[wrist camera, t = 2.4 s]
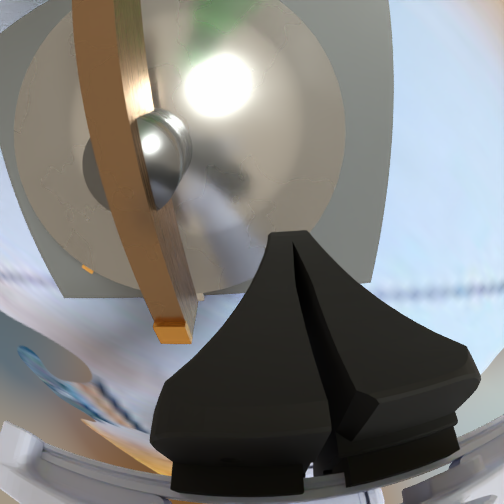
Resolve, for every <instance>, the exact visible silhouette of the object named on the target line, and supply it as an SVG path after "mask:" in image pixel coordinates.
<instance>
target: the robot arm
mask: <svg viewBox="0 0 504 504" xmlns="http://www.w3.org/2000/svg"><path fill="white" fill-rule="evenodd" d="M480 381H481V376H480V373H479V371H478V369H477V367H476V365H475V362H474V360H473V358H472V356H471V354H470V352H469V350H468V349H467V347H466V346H465V345H462V344H460V343H458V342H456V341H453V340H451V339H449V338H447V337H444V336H442V335H440V334H437V333H435V332H433V331H431V330H429V329H428V328H426V327H424V326H422V325H420V324H418V323H416V322H414V321H413V320H411V319H409V318H408V317H406V316H404V315H403V314H401V313H399V312H398V311H396V310H395V309H393V308H392V307H390V306H389V305H387V304H386V303H384V302H383V301H381V300H380V299H378V298H377V297H376V296H374V295H373V294H372V293H371V292H369V291H368V290H367V289H365V288H364V287H363V286H362V285H360V284H359V283H358V282H357V281H356V280H354V279H353V278H352V277H351V276H350V275H349V274H348V273H347V272H346V271H345V270H344V269H343V268H342V267H341V266H340V265H339V264H338V263H337V262H336V261H335V260H334V259H333V258H332V257H331V256H330V255H329V254H328V253H327V252H326V251H325V250H324V249H323V248H322V247H321V245H320V244H319V243H318V242H317V241H316V240H315V239H314V237H313V236H312V235H311V234H310V233H309V232H308V231H307V230H299V231H283V232H271V233H270V234H269V235H268V240H267V245H266V249H265V252H264V255H263V258H262V260H261V263H260V265H259V268H258V270H257V272H256V274H255V276H254V278H253V280H252V282H251V284H250V286H249V288H248V290H247V291H246V293H245V295H244V296H243V298H242V299H241V301H240V303H239V304H238V306H237V307H236V309H235V310H234V311H233V313H232V314H231V315H230V317H229V318H228V319H227V321H226V322H225V323H224V325H223V326H222V327H221V328H220V330H219V331H218V332H217V333H216V334H215V335H214V336H213V337H212V338H211V340H210V341H209V342H208V343H207V344H206V345H205V346H204V347H203V348H202V349H201V350H200V351H199V352H198V353H197V354H196V355H195V356H194V357H193V358H192V359H191V360H190V361H189V362H188V363H187V364H185V365H184V366H183V367H182V368H181V369H180V370H178V371H177V372H176V373H175V374H174V375H173V376H172V377H170V378H169V379H168V380H167V381H166V382H165V383H164V386H163V388H162V391H161V393H160V396H159V399H158V402H157V405H156V407H155V411H154V415H153V421H152V427H151V434H150V443H151V444H152V446H153V447H154V448H155V449H156V450H157V451H159V452H160V453H161V454H163V455H164V456H165V457H167V458H168V459H170V460H171V461H173V467H172V476H165V475H159V474H153V473H147V472H141V471H136V470H131V469H127V468H123V467H119V466H114V465H111V464H107V463H103V462H99V461H96V460H93V459H89V458H86V457H83V456H80V455H77V454H74V453H71V452H68V451H65V450H63V449H60V448H57V447H55V446H52V445H50V444H47V443H45V442H43V441H42V440H41V439H40V438H38V437H37V436H35V435H34V434H32V433H30V432H29V431H27V430H25V429H23V428H21V427H19V426H16V425H14V424H12V423H10V422H8V421H4V423H3V426H2V430H1V433H0V489H1V490H3V491H4V492H5V493H7V494H8V495H9V496H11V497H12V498H13V499H15V500H16V501H18V502H19V503H20V504H172V503H171V501H169V500H168V499H174V500H181V501H189V502H198V503H210V504H385V502H384V497H383V493H382V490H381V487H385V486H388V485H392V484H395V483H398V482H401V481H404V480H407V479H410V478H413V477H416V476H419V475H422V474H424V473H427V472H430V471H432V470H435V469H437V468H439V467H442V466H444V465H446V464H449V463H451V462H452V463H451V465H450V466H449V469H448V470H447V471H445V472H443V473H440V474H438V475H436V476H434V477H431V478H429V479H427V480H425V481H423V482H420V483H418V484H416V485H413V486H411V487H408V488H405V489H403V491H402V496H403V503H401V504H504V414H503V415H502V416H500V417H498V418H496V419H494V420H493V421H491V422H489V423H487V424H485V425H483V426H481V427H479V428H477V429H476V430H473V431H471V432H469V433H467V434H465V435H462V436H460V437H458V438H457V437H456V433H455V430H454V427H453V426H455V425H456V424H457V423H458V420H457V416H456V413H455V411H456V410H457V409H458V408H459V407H460V406H461V405H462V404H463V403H464V402H465V401H466V400H467V399H468V398H469V397H470V396H471V395H472V394H473V393H474V391H475V390H476V389H477V387H478V385H479V383H480ZM166 498H167V499H166Z"/></svg>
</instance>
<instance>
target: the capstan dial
mask: <svg viewBox="0 0 504 504" xmlns="http://www.w3.org/2000/svg"><path fill="white" fill-rule="evenodd" d="M345 135H346V130H345V114H344V106H343V101H342V96H341V92H340V88H339V84H338V81H337V78H336V76H335V73H334V71H333V68H332V66H331V63H330V61H329V59H328V57H327V55H326V53H325V52H324V50H323V48H322V47H321V45H320V43H319V42H318V40H317V39H316V37H315V36H314V35H313V33H312V32H311V31H310V30H309V29H308V27H307V26H306V25H305V24H304V23H303V21H302V20H301V19H300V18H299V17H298V16H297V15H296V14H295V13H293V12H292V11H291V10H290V9H289V8H288V7H286V6H285V5H284V4H283V3H282V2H280V1H279V0H72V10H71V11H70V12H69V13H68V14H67V15H66V16H65V17H64V18H63V19H62V20H61V21H60V22H59V23H58V24H57V25H56V26H55V27H54V28H53V29H52V31H51V32H50V33H49V34H48V36H47V37H46V38H45V40H44V41H43V43H42V44H41V46H40V47H39V49H38V50H37V52H36V54H35V55H34V57H33V59H32V61H31V63H30V65H29V67H28V69H27V72H26V74H25V77H24V80H23V82H22V85H21V88H20V92H19V96H18V100H17V105H16V111H15V120H14V149H15V156H16V163H17V168H18V172H19V175H20V179H21V182H22V185H23V188H24V190H25V193H26V195H27V198H28V200H29V202H30V204H31V206H32V208H33V210H34V211H35V213H36V215H37V217H38V218H39V220H40V221H41V223H42V224H43V225H44V227H45V228H46V230H47V231H48V232H49V233H50V235H51V236H52V237H53V238H54V239H55V240H56V241H57V243H58V244H59V245H60V246H61V247H63V248H64V249H65V250H66V251H67V252H68V253H69V254H70V255H71V256H73V257H74V258H75V259H76V260H78V261H79V262H81V263H82V264H83V265H85V266H86V267H88V268H89V269H91V270H93V271H94V272H96V273H98V274H100V275H101V276H104V277H106V278H108V279H110V280H112V281H114V282H117V283H120V284H122V285H125V286H128V287H131V288H135V289H139V290H141V293H142V295H143V297H144V299H145V302H146V304H147V306H148V308H149V311H150V313H151V315H152V317H153V319H154V324H153V329H154V331H155V333H156V335H157V337H158V339H159V341H160V343H161V344H192V335H193V329H194V324H195V318H196V312H197V307H198V299H197V295H196V294H197V293H206V292H211V291H216V290H221V289H225V288H228V287H231V286H234V285H237V284H240V283H243V282H245V281H247V280H249V279H251V278H254V276H255V274H256V272H257V270H258V268H259V265H260V263H261V260H262V258H263V255H264V252H265V249H266V245H267V240H268V235H269V234H270V233H271V232H283V231H299V230H307V231H308V232H309V233H310V232H311V230H312V229H313V228H314V226H315V225H316V224H317V222H318V221H319V219H320V218H321V216H322V214H323V212H324V211H325V209H326V207H327V205H328V204H329V202H330V199H331V197H332V194H333V192H334V189H335V187H336V184H337V182H338V179H339V174H340V170H341V166H342V162H343V158H344V147H345Z"/></svg>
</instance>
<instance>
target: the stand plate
mask: <svg viewBox="0 0 504 504" xmlns="http://www.w3.org/2000/svg"><path fill="white" fill-rule="evenodd" d="M279 1H280V2H282V3H283V4H284V5H285V6H286V7H288V8H289V9H290V10H291V11H292V12H293V13H295V14H296V15H297V16H298V17H299V18H300V19H301V20H302V21H303V23H304V24H305V25H306V26H307V27H308V29H309V30H310V31H311V32H312V33H313V35H314V36H315V37H316V39H317V40H318V42H319V43H320V45H321V47H322V48H323V50H324V52H325V53H326V55H327V57H328V59H329V61H330V63H331V66H332V68H333V71H334V73H335V76H336V78H337V81H338V84H339V88H340V92H341V96H342V101H343V106H344V114H345V130H346V135H345V147H344V158H343V162H342V166H341V170H340V174H339V179H338V182H337V184H336V187H335V189H334V192H333V194H332V197H331V199H330V202H329V204H328V205H327V207H326V209H325V211H324V212H323V214H322V216H321V218H320V219H319V221H318V222H317V224H316V225H315V226H314V228H313V229H312V230H311V232H310V234H311V235H312V236H313V237H314V239H315V240H316V241H317V242H318V243H319V244H320V245H321V247H322V248H323V249H324V250H325V251H326V252H327V253H328V254H329V255H330V256H331V257H332V258H333V259H334V260H335V261H336V262H337V263H338V264H339V265H340V266H341V267H342V268H343V269H344V270H345V271H346V272H347V273H348V274H349V275H350V276H351V277H352V278H353V279H354V280H356V281H357V282H358V283H359V284H361V283H370V282H371V278H372V274H373V269H374V264H375V259H376V254H377V249H378V244H379V239H380V233H381V227H382V221H383V214H384V208H385V201H386V193H387V185H388V176H389V167H390V156H391V143H392V127H393V98H394V74H393V46H392V31H391V19H390V10H389V1H388V0H279ZM71 10H72V0H49V1H47V2H46V3H44V4H42V5H41V6H39V7H37V8H36V9H34V10H33V11H31V12H30V13H28V14H27V15H25V16H24V17H22V18H21V19H19V20H18V21H16V22H15V23H14V24H12V25H11V26H10V27H8V28H7V29H6V30H4V31H3V32H2V33H0V146H1V150H2V154H3V158H4V161H5V164H6V168H7V171H8V174H9V177H10V180H11V183H12V186H13V189H14V192H15V195H16V198H17V200H18V203H19V206H20V208H21V211H22V213H23V216H24V218H25V221H26V223H27V225H28V228H29V230H30V232H31V235H32V237H33V239H34V241H35V243H36V245H37V248H38V250H39V252H40V254H41V256H42V258H43V260H44V262H45V264H46V266H47V268H48V270H49V272H50V273H51V275H52V277H53V279H54V281H55V283H56V284H57V286H58V288H59V290H60V291H61V293H62V295H63V297H64V298H134V297H143V295H142V293H141V290H139V289H135V288H131V287H128V286H125V285H122V284H120V283H117V282H114V281H112V280H110V279H108V278H106V277H104V276H101V275H100V274H98V273H96V272H94V271H93V270H91V269H89V268H88V267H86V266H85V265H83V264H82V263H81V262H79V261H78V260H76V259H75V258H74V257H73V256H71V255H70V254H69V253H68V252H67V251H66V250H65V249H64V248H63V247H61V246H60V245H59V244H58V243H57V241H56V240H55V239H54V238H53V237H52V236H51V235H50V233H49V232H48V231H47V230H46V228H45V227H44V225H43V224H42V223H41V221H40V220H39V218H38V217H37V215H36V213H35V211H34V210H33V208H32V206H31V204H30V202H29V200H28V198H27V195H26V193H25V190H24V188H23V185H22V182H21V179H20V175H19V172H18V168H17V163H16V156H15V149H14V120H15V111H16V105H17V100H18V96H19V92H20V88H21V85H22V82H23V80H24V77H25V74H26V72H27V69H28V67H29V65H30V63H31V61H32V59H33V57H34V55H35V54H36V52H37V50H38V49H39V47H40V46H41V44H42V43H43V41H44V40H45V38H46V37H47V36H48V34H49V33H50V32H51V31H52V29H53V28H54V27H55V26H56V25H57V24H58V23H59V22H60V21H61V20H62V19H63V18H64V17H65V16H66V15H67V14H68V13H69V12H70V11H71ZM252 280H253V278H251V279H249V280H247V281H245V282H243V283H240V284H237V285H234V286H231V287H228V288H225V289H221V290H216V291H211V292H206V293H197V294H196V295H197V299H198V301H204V295H218V294H236V293H246V291H247V290H248V288H249V286H250V284H251V282H252Z"/></svg>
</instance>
